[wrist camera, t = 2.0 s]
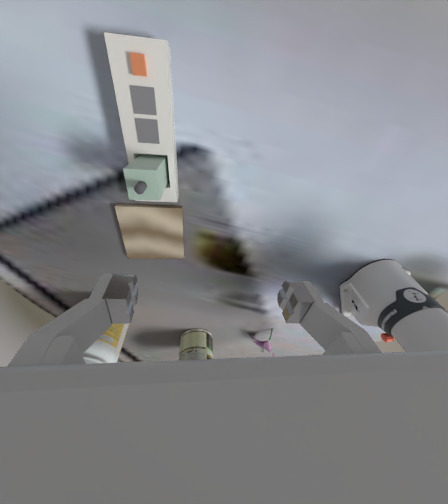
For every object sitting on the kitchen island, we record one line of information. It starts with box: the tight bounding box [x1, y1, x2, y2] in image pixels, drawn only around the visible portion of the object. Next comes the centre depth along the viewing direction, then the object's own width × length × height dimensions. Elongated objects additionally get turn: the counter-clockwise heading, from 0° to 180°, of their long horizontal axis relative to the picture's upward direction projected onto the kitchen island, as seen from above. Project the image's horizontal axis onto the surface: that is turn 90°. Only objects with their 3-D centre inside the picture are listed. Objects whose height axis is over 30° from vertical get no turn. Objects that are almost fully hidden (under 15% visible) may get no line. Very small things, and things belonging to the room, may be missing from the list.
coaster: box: [115, 204, 184, 259], centre depth 41 cm, size 12×12×1 cm
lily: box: [251, 329, 275, 357], centre depth 65 cm, size 12×12×10 cm
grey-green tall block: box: [123, 154, 169, 201], centre depth 30 cm, size 4×4×12 cm
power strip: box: [104, 32, 179, 202], centre depth 30 cm, size 20×7×4 cm, turn 176°
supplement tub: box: [82, 324, 129, 364], centre depth 47 cm, size 12×12×17 cm
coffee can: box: [179, 329, 213, 360], centre depth 60 cm, size 10×10×14 cm
